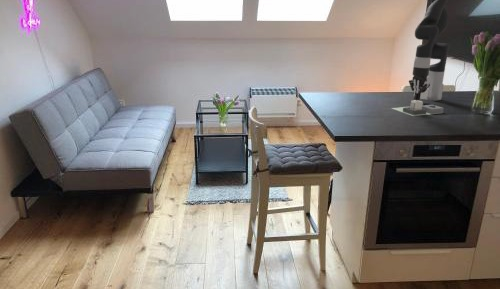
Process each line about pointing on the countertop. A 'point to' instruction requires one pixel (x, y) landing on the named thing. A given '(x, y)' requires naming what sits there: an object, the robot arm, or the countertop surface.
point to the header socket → (414, 111)
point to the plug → (416, 105)
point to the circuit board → (429, 109)
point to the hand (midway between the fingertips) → (416, 100)
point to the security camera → (424, 94)
